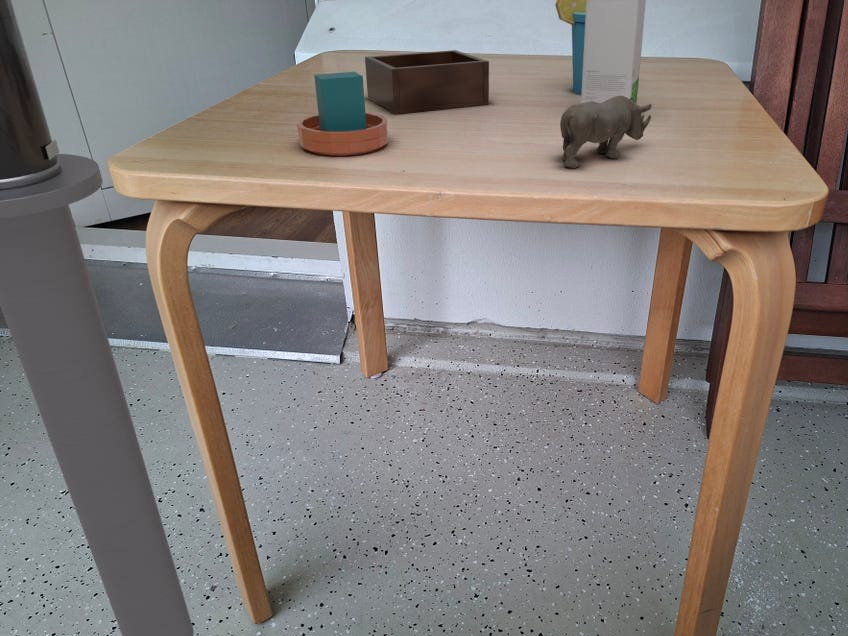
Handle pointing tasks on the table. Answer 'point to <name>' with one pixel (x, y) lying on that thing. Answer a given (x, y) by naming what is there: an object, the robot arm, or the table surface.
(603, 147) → the rhino figurine
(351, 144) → the bowl
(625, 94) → the cosmetic box
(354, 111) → the tea packet
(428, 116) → the table surface
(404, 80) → the box
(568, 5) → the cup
